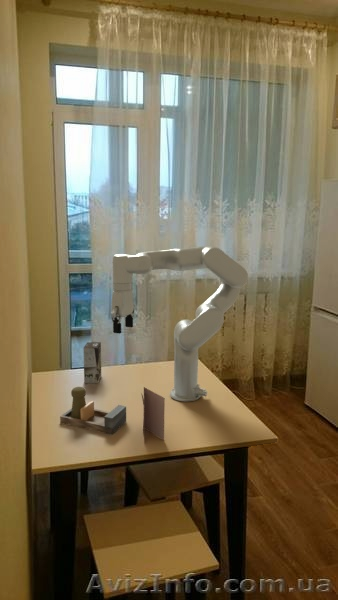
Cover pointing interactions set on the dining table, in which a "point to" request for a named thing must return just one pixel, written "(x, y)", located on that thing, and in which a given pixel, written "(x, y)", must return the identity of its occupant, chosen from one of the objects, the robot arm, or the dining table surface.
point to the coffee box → (92, 362)
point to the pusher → (87, 411)
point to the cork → (78, 401)
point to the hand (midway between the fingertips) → (123, 329)
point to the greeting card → (153, 413)
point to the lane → (99, 420)
